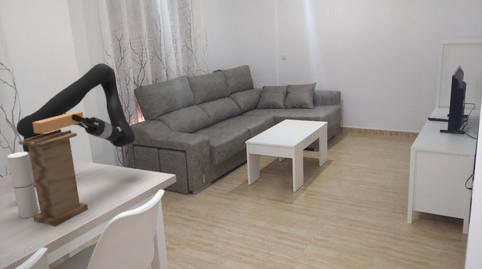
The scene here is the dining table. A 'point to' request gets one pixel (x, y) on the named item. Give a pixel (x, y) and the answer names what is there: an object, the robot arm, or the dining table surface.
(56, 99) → the robot arm
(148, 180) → the dining table surface
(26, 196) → the cylindrical container
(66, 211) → the walnut stand
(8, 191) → the dining table surface
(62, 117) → the orange bar
